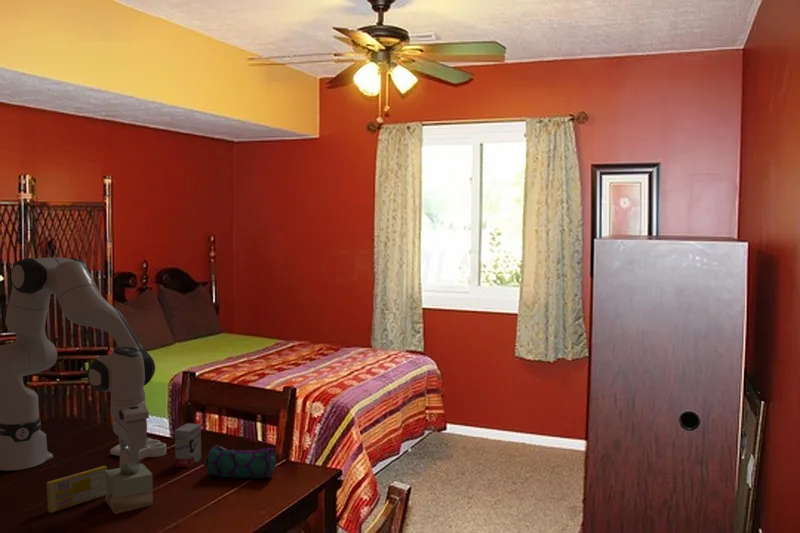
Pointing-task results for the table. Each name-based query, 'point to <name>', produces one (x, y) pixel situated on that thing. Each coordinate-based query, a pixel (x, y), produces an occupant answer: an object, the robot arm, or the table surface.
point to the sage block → (128, 482)
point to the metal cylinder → (128, 463)
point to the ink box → (187, 445)
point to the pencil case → (240, 463)
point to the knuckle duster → (146, 449)
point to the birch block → (129, 501)
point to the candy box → (76, 489)
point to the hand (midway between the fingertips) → (129, 456)
